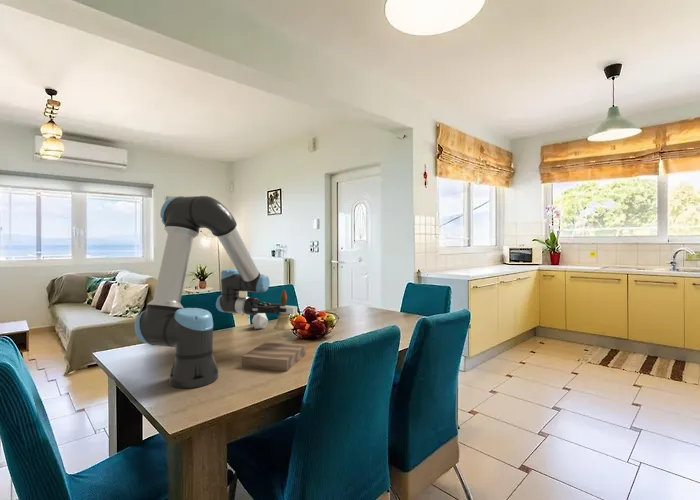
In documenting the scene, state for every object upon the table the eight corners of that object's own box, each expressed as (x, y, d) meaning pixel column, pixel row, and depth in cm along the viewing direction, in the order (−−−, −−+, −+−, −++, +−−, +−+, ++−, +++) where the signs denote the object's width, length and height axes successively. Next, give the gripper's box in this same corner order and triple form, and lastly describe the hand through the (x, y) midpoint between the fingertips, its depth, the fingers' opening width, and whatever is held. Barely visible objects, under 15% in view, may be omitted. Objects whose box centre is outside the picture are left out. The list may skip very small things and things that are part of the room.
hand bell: (270, 327, 155) (270, 289, 155) (289, 325, 159) (289, 288, 159) (277, 331, 148) (277, 292, 148) (296, 329, 152) (297, 290, 152)
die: (261, 332, 191) (271, 315, 194) (247, 323, 191) (257, 307, 194) (262, 333, 198) (271, 318, 202) (248, 326, 198) (258, 310, 202)
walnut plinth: (287, 371, 132) (287, 360, 132) (241, 366, 136) (241, 356, 136) (305, 354, 152) (305, 344, 151) (265, 351, 156) (265, 341, 155)
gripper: (258, 311, 167) (304, 316, 158) (237, 317, 154) (285, 322, 145) (258, 295, 167) (304, 298, 158) (237, 299, 153) (285, 303, 145)
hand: (295, 310), depth 151 cm, fingers closed on hand bell, 2 cm apart
